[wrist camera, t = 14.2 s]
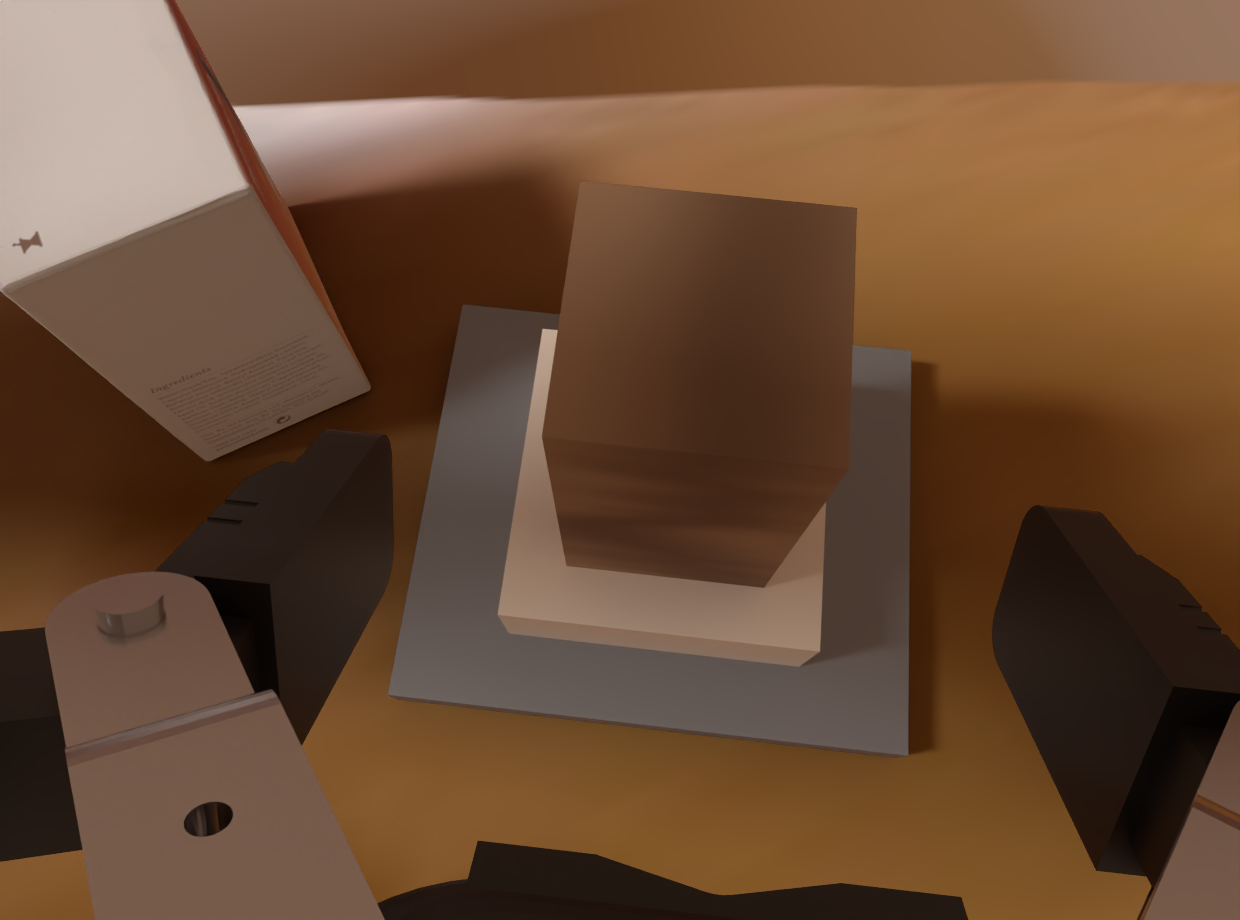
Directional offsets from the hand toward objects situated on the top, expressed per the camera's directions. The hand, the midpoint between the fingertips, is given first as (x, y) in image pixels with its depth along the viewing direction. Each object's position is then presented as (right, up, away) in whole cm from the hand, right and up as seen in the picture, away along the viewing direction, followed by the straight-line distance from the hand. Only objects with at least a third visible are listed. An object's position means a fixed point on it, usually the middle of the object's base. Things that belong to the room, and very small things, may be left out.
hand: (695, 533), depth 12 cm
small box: (-13, +5, +19) cm, 23 cm away
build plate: (0, -1, +16) cm, 16 cm away
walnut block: (0, 0, +13) cm, 13 cm away
